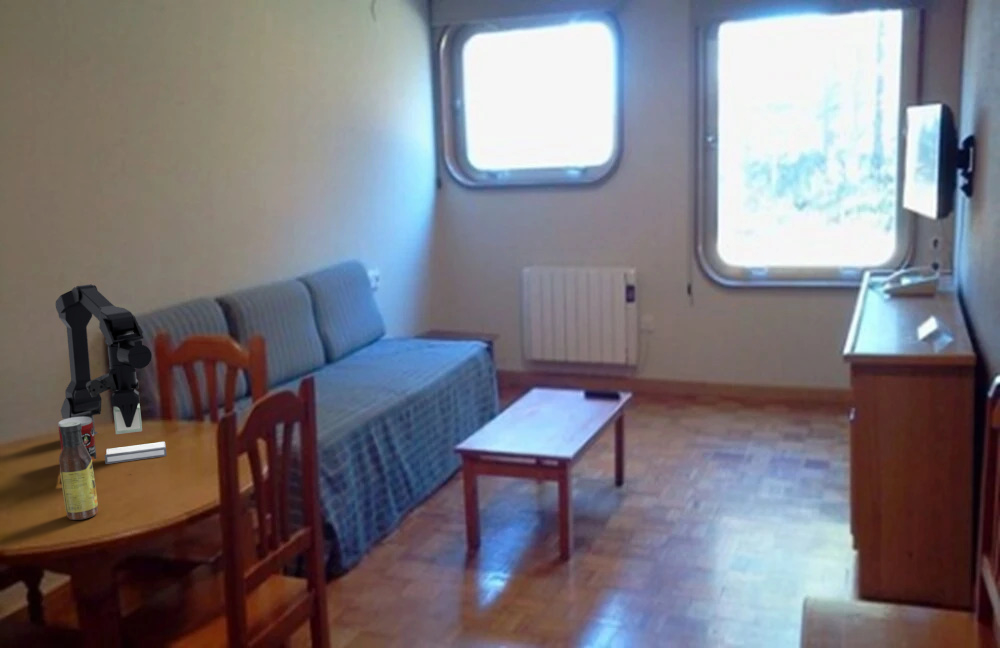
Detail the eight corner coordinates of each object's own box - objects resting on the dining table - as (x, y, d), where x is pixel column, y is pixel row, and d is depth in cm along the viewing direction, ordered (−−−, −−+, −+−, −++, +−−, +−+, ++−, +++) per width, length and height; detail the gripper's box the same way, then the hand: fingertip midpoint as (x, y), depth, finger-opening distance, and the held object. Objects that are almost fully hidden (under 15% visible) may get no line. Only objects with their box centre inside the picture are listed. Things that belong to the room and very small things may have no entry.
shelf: (107, 452, 238) (105, 441, 237) (165, 445, 243) (163, 434, 242) (105, 467, 226) (104, 456, 225) (167, 459, 231) (165, 447, 230)
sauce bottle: (104, 514, 195) (93, 423, 192) (74, 524, 190) (63, 430, 187) (89, 507, 199) (79, 418, 196) (60, 516, 195) (49, 424, 191)
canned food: (73, 471, 224) (68, 426, 222) (56, 465, 229) (51, 422, 227) (103, 462, 230) (98, 419, 228) (86, 456, 235) (81, 414, 233)
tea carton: (116, 430, 231) (113, 406, 230) (141, 426, 233) (139, 403, 232) (115, 434, 227) (113, 410, 226) (142, 431, 229) (139, 407, 228)
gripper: (87, 359, 233) (94, 419, 235) (84, 374, 215) (91, 439, 218) (135, 354, 237) (141, 413, 239) (136, 369, 219) (142, 433, 222)
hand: (128, 424), depth 230 cm, fingers closed on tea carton, 4 cm apart
